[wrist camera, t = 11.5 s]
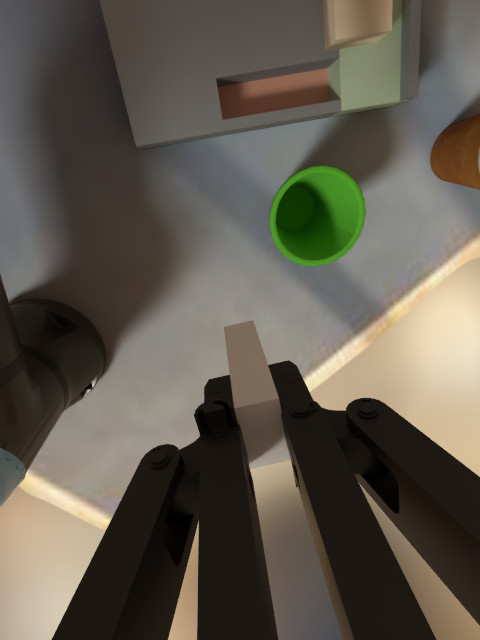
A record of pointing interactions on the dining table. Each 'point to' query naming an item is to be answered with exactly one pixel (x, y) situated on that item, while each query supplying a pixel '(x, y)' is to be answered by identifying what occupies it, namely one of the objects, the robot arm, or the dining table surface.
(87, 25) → the dining table surface
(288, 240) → the cup
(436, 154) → the disposable coffee cup
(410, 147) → the dining table surface
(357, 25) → the block
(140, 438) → the dining table surface
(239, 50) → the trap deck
